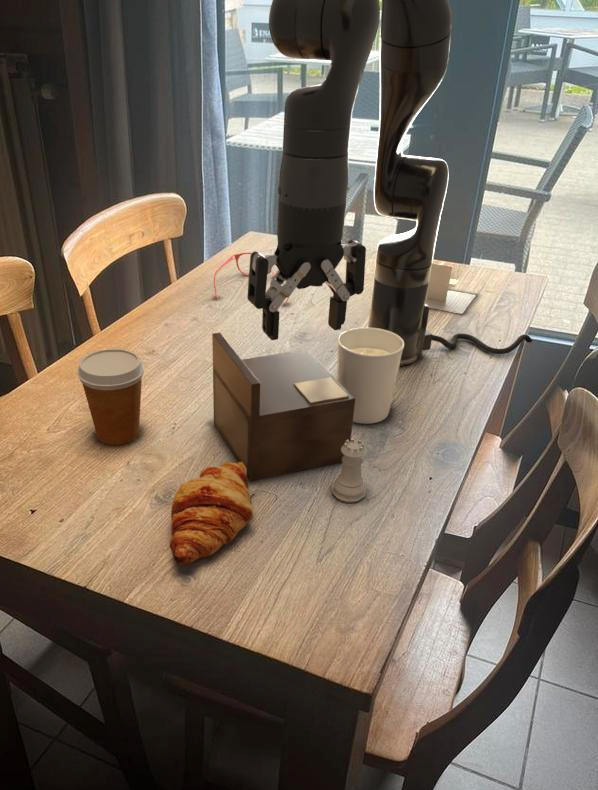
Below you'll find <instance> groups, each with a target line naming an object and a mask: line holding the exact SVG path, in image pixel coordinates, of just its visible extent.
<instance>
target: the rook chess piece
mask: <svg viewBox="0 0 598 790" xmlns="http://www.w3.org/2000/svg"><path fill="white" fill-rule="evenodd" d="M341 452H342V453H343V454H344V456H343V457H342V462H341V463H342V465H341V469H340V472H339V474H338V475H337V477H335V479H334V480H333V484H332V486H333V487H332V488H331V491H332V494H333V495H334V496H335V498H336V499H337V500H339V501H341V502H345V503H356V502H359V501H360V500H362V499H363V498H364V497H365V496H366V489H367V487H366V481H364V478H363V476H362V465H363V464H364V458H363V457H364V456H366V454H367V448H366V447H365V443H364V442H363V440H361V439H358V440H357V441H356V438H351V441H350V442H349V440H346V441H345V443H344V445H343V446H342V448H341Z"/></svg>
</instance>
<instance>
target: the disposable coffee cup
mask: <svg viewBox="0 0 598 790" xmlns="http://www.w3.org/2000/svg"><path fill="white" fill-rule="evenodd" d="M145 368H146V367H145V364H144V363H143V361H142V360H141V357H140V356H139V354H137V353H135V352H134V351H132V350H129V349H125V348H113V347H112V348H105V349H104V348H102V349H97V350H94V351H92V352H90V353H87V354H86V355H84V356H83V357H82V358H81V359H80V360H79V363H78V368H77V369H76V375H77V377H78V379H79V381H80V382H81V384H82V388H83V391H84V394H85V398H86V402H87V405H88V408H89V412H90V415H91V419H92V422H93V426H94V430H95V433H96V437H97V439H98V441H100V442H102V443H103V444H106V445H113V446H119V445H124V444H125V445H126V444H129V443H131V442H133V441H134V440H136V439H137V438H138V437H139V434H140V418H141V400H142V381H143V376H144V374H145V370H146V369H145Z"/></svg>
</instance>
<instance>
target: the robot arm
mask: <svg viewBox="0 0 598 790" xmlns="http://www.w3.org/2000/svg"><path fill="white" fill-rule="evenodd" d="M268 14H269V15H268V29H269V36H270V39H271V41H272V44H273V45H274V47H275V48H276V50H277V51H278V52H279V53H280V54H281V55H283V56H284V57H286V58H289V59H292V60H300V61H317V62H329V63H330V67H329V69H328V73H327V75H326V77H325V79H324V80H323V82H322V83H321V84H317V85H310V86H305V87H300V88H296V89H294V90H292V91H290V93H289V94H288V95H287V97H286V98H285V99H286V100H285V103H284V111H283V112H284V113H283V137H282V155H281V163H280V168H279V178H278V179H279V181H278V187H277V194H278V203H277V205H278V207H277V230H276V231H277V232H276V237H277V238H276V239H277V246H276V249H275V251H274V253H260V252H259V251H257V250H256V251H255V250H254V251H253V252H251V253H252V254H250V257H249V268H248V269H249V271H248V274H249V276H248V283H247V298H246V299H247V300H248V302H249V303H251V304H252V306H253V307H254V308H256V309H257V310H262V318H261V319H262V320H261V323H262V324H261V329H262V332H263V333H264V334H265V335H266V336H267V338H269V339H270V341H276V340H279V333H280V331H279V330H280V310H279V308H280V307H281V305H282V304H283V303H284V301H285V300H286V299H288V297H289V298H290V297H291V295H292V294H293V292H294V291H295V290H296V288H297V289H298V290H303V289H306V288H309V287H316V288H317V287H323V286H324V285H323V284H326V286H327V288H328V289H329V290H330V292H331V293H332V296H330V297H329V306H328V307H329V309H328V318H327V319H328V320H327V323H328V326H329V328H330V329H332V330H334V331H340V330H342V326H343V325H344V324H345V322H346V315H347V308H348V307H347V306H348V301H349V300H350V298H351V297H352V296H354V295H361V294H362V293H363V292H364V289H365V275H366V273H365V272H366V259H367V257H366V255H367V247H366V246H365V245H363V244H361V243H360V242H358V241H357V240H355V239H350V240H348V242H347V243H346V244H343V243H342V240H343V238H344V234H345V233H344V232H345V223H346V212H347V211H346V210H347V202H348V201H347V199H348V189H349V178H350V177H349V176H350V170H349V167H350V166H349V150H350V142H351V141H350V140H351V129H352V119H353V118H352V117H353V111H354V107H355V103H356V99H357V95H358V92H359V88H360V85H361V81H362V78H363V74H364V71H365V69H366V65H367V63H368V59H369V57H370V54H371V51H372V49H373V46H374V43H375V40H376V37H377V34H378V30H379V25H380V31H379V32H380V33H379V122H378V124H379V125H378V138H377V149H376V150H377V151H376V159H375V160H376V161H375V169H374V170H375V172H374V183H373V202H374V208H375V211H376V213H378V214H379V215H381V216H384V217H387V218H393V219H400V220H406V221H407V220H409V221H415V222H416V225H415V227H414V228H413V229H411V230H409V231H406V232H403V233H398V234H393V235H390V236H387V237H385V238H382V240H380V241H379V242H378V244H377V249H376V254H375V263H374V273H373V279H372V280H373V281H372V290H371V297H370V306H369V313H368V323H367V327H369V328H379V329H384V330H387V331H390V332H393V333H395V334H397V335H398V336H400V337H401V338H402V339H403V341H404V348H403V352H402V356H401V361H400V365H399V367H401V366H406V365H409V364H412V363H414V362H415V361H417V359H422V356H423V352H424V351H429V350H431V346H432V342H433V341H434V342H437V343H440V344H441V345H442V346H444V348H447V349H454V348H455V347H456V346H457V340H461V339H462V340H466V341H469V342H471V343H473V344H475V345H476V346H477V347H478V348H480V349H481V350H483V351H485V352H487V353H490V354H494V355H505V354H509V353H511V352H513V351H514V350H516V349H517V348H518V347H519V346H520V344H522V342H523V341H525V342H526V343H532V342H533V340H532V338H531V336H529V335H528V334H520V336H518V337H517V339H515V341H514V342H513V343H512V344H510V345H509V346H507V347H505V348H504V347H503V348H496V347H491V346H489V345H487V344H486V343H484V342H483V341H482V340H480V339H479V338H477V337H476V336H473V335H472V334H469V333H456V334H454V335H453V336H452V337H451V340H450V342H449V340H447V339H446V338H445V337H442V336H439V335H434V334H433V333H432V332H430V331H429V330H428V329H427V327H428V321H429V315H430V308H429V307H428V306H427V305H426V297H427V291H428V285H429V279H430V273H431V266H432V263H433V261H434V255H435V249H436V243H437V238H438V232H439V228H440V223H441V222H440V221H441V216H442V213H443V208H444V203H445V200H446V194H447V189H448V185H449V176H450V175H449V174H450V173H449V166H448V163H447V162H446V161H445V160H443V159H442V158H436V157H427V156H416V155H406V154H403V142H404V138H405V136H406V134H407V132H408V131H409V129H410V128H411V125H412V124H413V122H414V121H415V119H416V117H417V116H418V115H419V113H420V112H421V111H422V109H423V108H424V106H425V105H426V104H427V103H428V102H429V100H430V99H431V97H432V96H433V94H434V93H435V91H436V90H437V89H438V88H439V86H440V85H441V82H442V81H443V79H444V77H445V75H446V73H447V70H448V65H449V59H450V50H451V49H450V47H451V40H452V39H451V37H452V28H453V27H452V25H453V13H452V7H451V5H450V1H449V0H381V6H380V0H272V1H271V5H270V9H269V13H268ZM343 259H344V261H345V262H346V263H345V281H343V279H342V278H341V276H340V275H339V273H338V272H337V270H336V268H338V266H339V264H340V263H341V261H342V260H343ZM274 266H276V268H277V269H278V270H277V272H276V273H274V274H275V276H274V275H273V277H272V279H271V280H270V282H269V287H268V289H267V282H268V275H269V274H271V273H272V272H271V270H272V269H273V267H274Z"/></svg>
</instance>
